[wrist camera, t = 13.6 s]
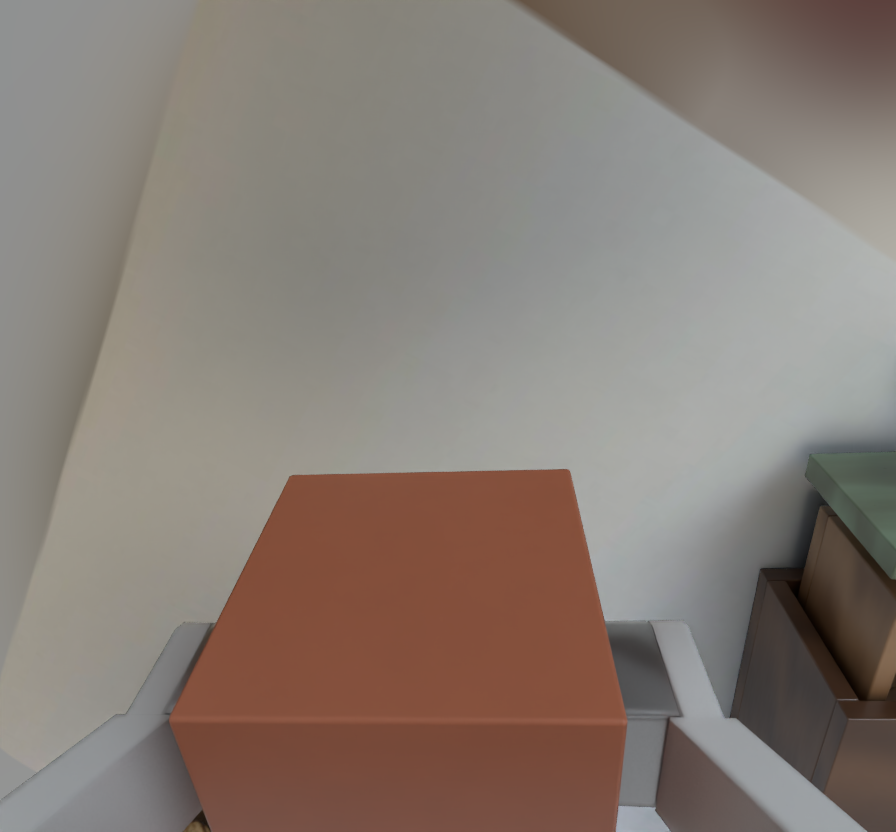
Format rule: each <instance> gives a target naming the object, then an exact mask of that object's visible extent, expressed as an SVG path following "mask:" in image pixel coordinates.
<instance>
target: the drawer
mask: <svg viewBox="0 0 896 832" xmlns="http://www.w3.org/2000/svg"><path fill="white" fill-rule="evenodd" d="M805 477H806V478H807V479H808V480H809V482H810V483H811V484H812V485H813V486H814V488H815V489H816V490H817V491H818V492H819V493H820V495H821V496H822V497H823V498H824V499H825V501H826V502H827V503H828V504H829V505H830V506H820V508H819V512H818V516H817V520H816V524H815V528H814V532H813V536H812V540H811V544H810V548H809V552H808V556H807V560H806V564H805V568H804V572H803V577H802V581H801V585H800V589H799V593H798V597H797V600H798V602H799V604H800V605H801V607H802V608H803V610H804V612H805V613H806V615H807V617H808V618H809V620H810V621H811V623H812V625H813V626H814V628H815V630H816V631H817V633H818V634H819V636H820V638H821V639H822V641H823V643H824V644H825V646H826V647H827V649H828V651H829V652H830V654H831V655H832V657H833V659H834V660H835V662H836V664H837V665H838V667H839V668H840V670H841V672H842V673H843V675H844V677H845V678H846V680H847V681H848V683H849V685H850V686H851V688H852V690H853V691H854V693H855V694H856V696H857V698H858V700H859V701H896V452H862V453H828V454H810V455H809V459H808V464H807V468H806V473H805Z"/></svg>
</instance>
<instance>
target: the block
mask: <svg viewBox="0 0 896 832" xmlns="http://www.w3.org/2000/svg"><path fill="white" fill-rule="evenodd" d="M627 723H628V721H627V716H626V712H625V708H624V703H623V699H622V694H621V690H620V686H619V681H618V677H617V673H616V668H615V664H614V660H613V655H612V651H611V647H610V642H609V638H608V634H607V629H606V625H605V621H604V616H603V612H602V608H601V603H600V599H599V595H598V590H597V586H596V582H595V577H594V573H593V569H592V564H591V560H590V556H589V551H588V547H587V543H586V538H585V534H584V529H583V525H582V521H581V516H580V512H579V508H578V503H577V499H576V495H575V490H574V486H573V482H572V477H571V473H570V471H569V470H567V469H553V470H507V471H461V472H415V473H369V474H323V475H292V476H290V477H289V479H288V481H287V483H286V485H285V487H284V489H283V491H282V493H281V495H280V497H279V499H278V501H277V503H276V505H275V507H274V509H273V511H272V513H271V515H270V517H269V519H268V521H267V523H266V525H265V527H264V529H263V531H262V533H261V535H260V537H259V539H258V541H257V543H256V545H255V547H254V549H253V551H252V553H251V555H250V557H249V559H248V561H247V563H246V565H245V567H244V569H243V571H242V573H241V575H240V577H239V579H238V581H237V583H236V585H235V587H234V589H233V591H232V593H231V595H230V597H229V599H228V601H227V603H226V605H225V607H224V609H223V611H222V613H221V615H220V617H219V619H218V621H217V623H216V625H215V627H214V629H213V631H212V633H211V635H210V637H209V639H208V641H207V642H206V644H205V646H204V648H203V650H202V652H201V654H200V656H199V658H198V660H197V662H196V664H195V666H194V668H193V670H192V672H191V674H190V676H189V678H188V680H187V682H186V684H185V686H184V688H183V690H182V692H181V694H180V696H179V698H178V700H177V702H176V704H175V706H174V708H173V710H172V712H171V714H170V717H169V724H170V727H171V729H172V732H173V734H174V737H175V739H176V742H177V745H178V747H179V750H180V752H181V755H182V758H183V760H184V763H185V765H186V768H187V770H188V773H189V776H190V778H191V781H192V783H193V786H194V789H195V791H196V794H197V796H198V799H199V801H200V804H201V807H202V809H203V812H204V814H205V817H206V819H207V822H208V825H209V827H210V830H211V832H616V823H617V814H618V805H619V796H620V787H621V778H622V768H623V759H624V750H625V741H626V732H627Z"/></svg>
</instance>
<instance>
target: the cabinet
mask: <svg viewBox="0 0 896 832" xmlns="http://www.w3.org/2000/svg"><path fill="white" fill-rule="evenodd" d="M803 572H804V568H787V569H761V570H760V575H759V580H758V585H757V589H756V594H755V599H754V604H753V609H752V614H751V618H750V623H749V628H748V633H747V638H746V643H745V647H744V652H743V657H742V662H741V667H740V672H739V676H738V681H737V686H736V691H735V696H734V701H733V705H732V710H731V715H730V718H736V719H737V720H739V721H740V722H741V723H742V724H743V725H744V726H746V727H747V728H748V729H749V730H750V731H751V732H753V733H754V734H755V735H756V736H757V737H758V738H759V739H761V740H762V741H763V742H764V743H765V744H766V745H768V746H769V747H770V748H771V749H772V750H773V751H775V752H776V753H777V754H778V755H779V756H780V757H781V758H783V759H784V760H785V761H786V762H787V763H788V764H790V765H791V766H792V767H793V768H794V769H795V770H797V771H798V772H799V773H800V774H801V775H802V776H804V777H805V778H806V779H807V780H808V781H809V782H810V783H812V784H813V785H814V786H815V787H816V788H817V789H819V790H820V791H821V792H822V793H823V794H824V795H826V796H827V797H828V798H829V799H830V800H831V801H833V802H834V803H835V804H836V805H837V806H838V807H839V808H841V809H842V810H843V811H844V812H845V813H846V814H848V815H849V816H850V817H851V818H852V819H853V820H855V821H856V822H857V823H858V824H859V825H860V826H861V827H863V828H864V829H865V830H866V831H867V832H896V701H859V700H858V698H857V696H856V694H855V693H854V691H853V690H852V688H851V686H850V685H849V683H848V681H847V680H846V678H845V677H844V675H843V673H842V672H841V670H840V668H839V667H838V665H837V664H836V662H835V660H834V659H833V657H832V655H831V654H830V652H829V651H828V649H827V647H826V646H825V644H824V643H823V641H822V639H821V638H820V636H819V634H818V633H817V631H816V630H815V628H814V626H813V625H812V623H811V621H810V620H809V618H808V617H807V615H806V613H805V612H804V610H803V608H802V607H801V605H800V604H799V602H798V600H797V597H798V593H799V589H800V585H801V581H802V577H803Z"/></svg>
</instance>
